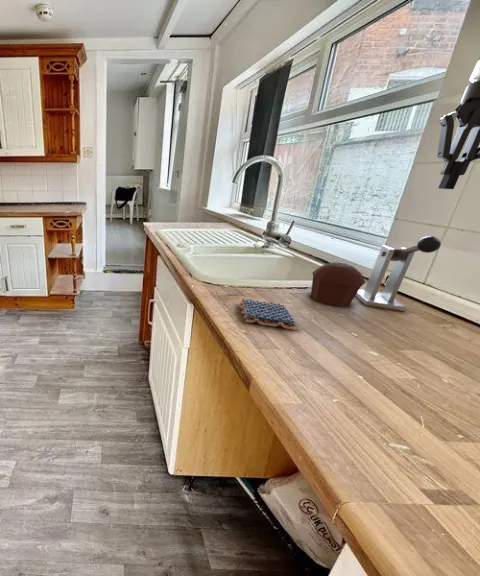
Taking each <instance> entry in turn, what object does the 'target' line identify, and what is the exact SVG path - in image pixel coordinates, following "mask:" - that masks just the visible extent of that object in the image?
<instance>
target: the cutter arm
mask: <svg viewBox="0 0 480 576" xmlns="http://www.w3.org/2000/svg"><path fill="white" fill-rule="evenodd" d="M441 246H442V242H441V239H439V238H438V237H437V236H433V235H427V236H423V237H421V238H420V239H419V240H418V241H417V242H416V244H415V245H413V246H410V247H406V248H407V249H404V250H400V249H398V248H394V249H395V250H394V253H393V255H392V258H391V260H390V262H391V261H392V262H395V261H399V260H402V259H403V257H404V255H407V254H410V253H413V252H415V253H416V252H419V251H420V252H422V253H425V254H430V253H433V252H434V253H435V252H436V251H438V250H439V249H440V248H441Z"/></svg>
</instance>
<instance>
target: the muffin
mask: <svg viewBox="0 0 480 576" xmlns="http://www.w3.org/2000/svg"><path fill="white" fill-rule="evenodd" d="M365 284H367V283H366V281H365V278H364V276H363V274H362V273H361V272H360V271H359V270H358V269H357V268H356V267H354V265H353V266H352V265H350V264H347V263H343V262H328V263H326V264H322V265H321V266H319V267H318V268H316V269H315V270H314V271H312V282H311V292H310V298H312V299H314V300H315V302H320V303H322V304H325V305H328V306H334V307H339V308H340V307H341V308H342V307H350V305H351V303H352V302H353V300H354V299H355V298H356V296H355V295H356V294H357V292H358V290H361V288H362V286H364V285H365Z"/></svg>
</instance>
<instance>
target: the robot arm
mask: <svg viewBox="0 0 480 576" xmlns="http://www.w3.org/2000/svg"><path fill="white" fill-rule="evenodd" d="M469 81H470V83H469V84H468V85H466V88H465V90H464V93H463V95H462V97H461V101H460V103H459V105H458V106H456V108H455V109H454V111H452V112H450V113H448V114H446V115H445V114H444V115H441V116H440V117H438V122H439V124H440V131H439V139H438V146H437V147H438V148H437V155H436V157H437V159H442V160H443V161H444V164H443V166H442V168H441V171H440V175H441V176H442V175H443V176H442V179H441V181H440V183H439V185H438V189H440V190H441V189H442V190H454V189H455V187H456V185H457V182H458V180H459V178H460V176H464V175H465V174H466V172H467V171H468V168H469V166H470V164H471V162H473V161H474V160H478V159H480V56H479V57H478V60H477V62H476V64H475V66H474V69H473V71H472V73H471V75H470V78H469ZM456 120H457V123H458V125H457V128H456V133H455V136H454V138H453V135H454V129H455V121H456ZM464 145H465V146H464ZM462 150H463V151H462ZM461 152H462V153H461ZM459 156H460V158H459ZM458 159H459V160H458Z"/></svg>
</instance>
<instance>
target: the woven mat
mask: <svg viewBox="0 0 480 576" xmlns="http://www.w3.org/2000/svg"><path fill="white" fill-rule="evenodd" d="M238 304H239V305H240V309H241V314H243V317H244V320H245V323H251V324H252V323H258V324H260V325H262V326H267V327H282V328H284V329H288V330H292V331H293V330H294V331H296V330H297V326H296V325H297V321H296V320H295V318H294V316H292V314H291V312H289V310H288V309H287V307H286V306H285V304H280V303H277V304H276V303H274V304H273V302H270V303H268V302H266V301H264V300H263V302H262V301H259V300H256V301H255V300H253V301H252V299H249V300H248V299H245V298H242V300H241V301H240V302H239V303H238Z"/></svg>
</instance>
